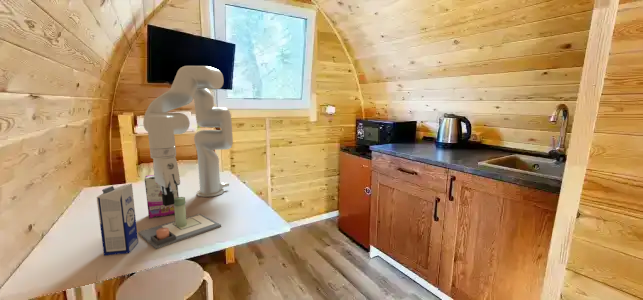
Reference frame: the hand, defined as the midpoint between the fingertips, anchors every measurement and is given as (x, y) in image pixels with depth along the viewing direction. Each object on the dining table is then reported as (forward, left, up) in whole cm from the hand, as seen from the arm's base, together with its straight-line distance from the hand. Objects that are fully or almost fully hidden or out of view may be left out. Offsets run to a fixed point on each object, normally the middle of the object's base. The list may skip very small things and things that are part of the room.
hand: (168, 204), depth 100 cm
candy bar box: (-5, -19, -10) cm, 22 cm away
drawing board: (-3, +1, -10) cm, 11 cm away
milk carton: (+15, +1, -10) cm, 18 cm away
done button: (+4, +5, -9) cm, 12 cm away
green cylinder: (-4, -1, -9) cm, 10 cm away
